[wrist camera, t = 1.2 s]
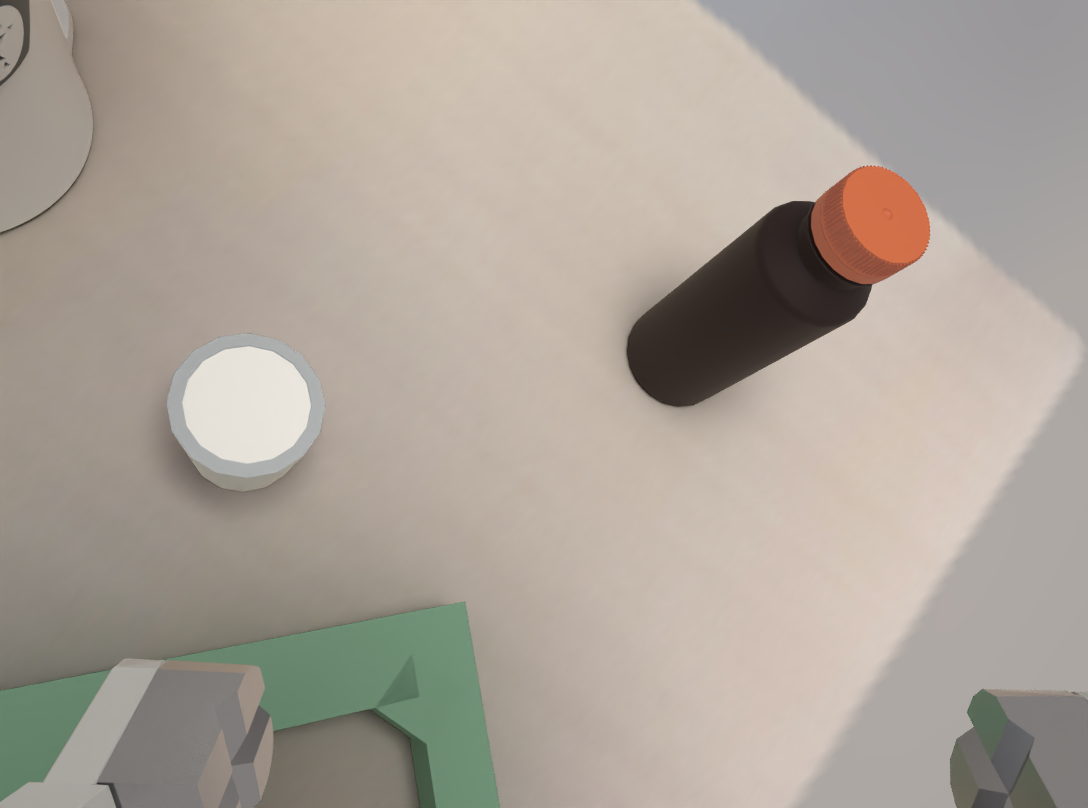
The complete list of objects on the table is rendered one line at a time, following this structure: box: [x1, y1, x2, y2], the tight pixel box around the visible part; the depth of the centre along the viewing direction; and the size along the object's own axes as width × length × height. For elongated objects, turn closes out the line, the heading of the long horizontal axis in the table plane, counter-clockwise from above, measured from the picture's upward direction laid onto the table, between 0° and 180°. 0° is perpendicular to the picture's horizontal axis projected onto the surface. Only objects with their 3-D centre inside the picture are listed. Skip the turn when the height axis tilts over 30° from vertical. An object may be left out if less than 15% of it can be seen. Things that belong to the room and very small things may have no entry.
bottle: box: [628, 165, 930, 406], centre depth 47 cm, size 7×7×20 cm
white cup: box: [166, 333, 325, 492], centre depth 42 cm, size 7×7×7 cm
